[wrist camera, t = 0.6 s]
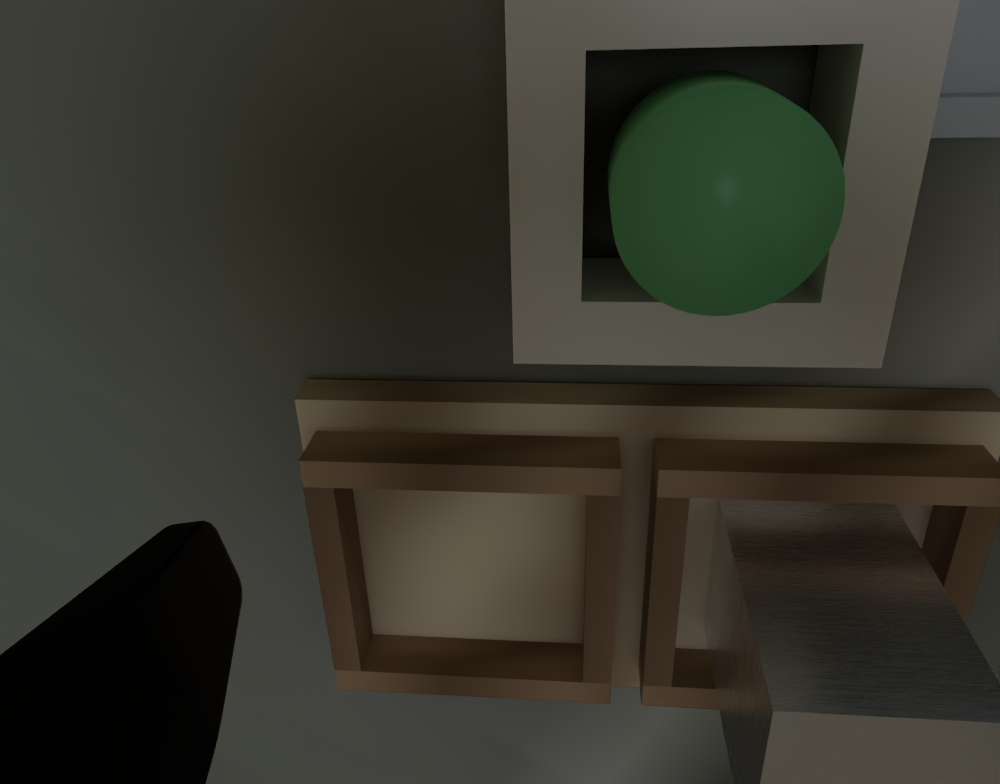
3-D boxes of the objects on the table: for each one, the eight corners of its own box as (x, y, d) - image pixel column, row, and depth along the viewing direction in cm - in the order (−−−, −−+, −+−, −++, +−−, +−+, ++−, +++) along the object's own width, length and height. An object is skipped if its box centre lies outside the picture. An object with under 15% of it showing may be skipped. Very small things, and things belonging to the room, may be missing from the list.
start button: (817, 67, 16) (864, 87, 13) (788, 264, 17) (825, 317, 15) (610, 72, 16) (615, 92, 13) (604, 264, 18) (607, 315, 15)
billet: (893, 502, 21) (1023, 724, 15) (862, 630, 23) (965, 872, 17) (718, 497, 21) (773, 710, 15) (703, 624, 23) (746, 856, 17)
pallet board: (990, 389, 20) (1044, 444, 18) (909, 671, 25) (943, 744, 23) (308, 379, 22) (275, 428, 20) (350, 645, 27) (327, 710, 24)
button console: (907, -51, 16) (971, -55, 14) (841, 315, 20) (881, 368, 17) (515, -37, 17) (503, -38, 14) (522, 313, 21) (513, 363, 18)
